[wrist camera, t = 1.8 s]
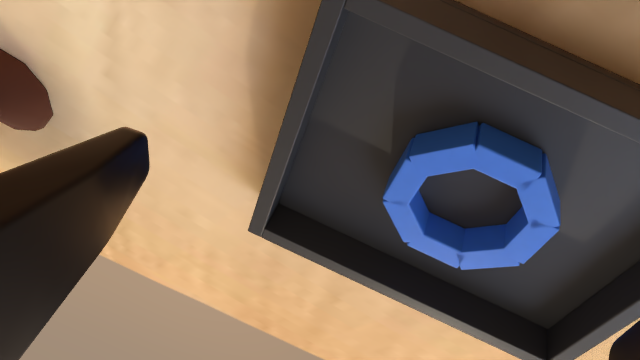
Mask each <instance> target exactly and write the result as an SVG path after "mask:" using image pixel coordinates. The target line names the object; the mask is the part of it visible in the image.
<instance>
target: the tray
mask: <svg viewBox="0 0 640 360" xmlns="http://www.w3.org/2000/svg"><path fill="white" fill-rule="evenodd" d="M472 122H478V124H479V126H480V125H481V124H482V123H485V124H487V125H489V126H492V127H494V128H496V129H498V130H500V131H503V132H505V133H507V134H509V135H511V136H513V137H516V138H518V139H520V140H522V141H524V142H527V143H529V144H531V145H533V146H535V147H537V148H540V149H541V150H542V154H543V153H545V154H546V155H547V158H548V161H549V165H550V168H551V171H552V175H553V178H554V182H555V185H556V188H557V192H558V195H559V198H560V220H561V225H560V226H559V231H558V232H557V233H556V234H555V235H554V236H553V237H552V238H550V239H549V240H548V241H547V242H546V243H545V244H544V245H543V246H542V247H541V248H540V249H539V250H538V251H537V252H536V253H535V254H534V255H533V256H532V257H530V258H529V259H528V260H527V261H526V262H525V263H524V264H522V263H520V265H519V266H509V267H495V268H481V269H467V270H461V268H460V266H459V267H458V268H455V267H452V266H450V265H448V264H446V263H444V262H442V261H440V260H437V259H435V258H433V257H431V256H429V255H427V254H425V253H422V252H420V251H418V250H416V249H414V248H412V247H410V246H408V245H407V242H403V240H402V238H401V237H400V235H399V233H398V231H397V229H396V227H395V225H394V223H393V221H392V219H391V217H390V215H389V214H388V212H387V210H386V208H385V206H384V204H383V194H384V191H385V188H386V185H387V182H388V180H389V177H390V175H391V173H392V171H393V170H394V168H395V166H396V165H397V163H398V161H399V159H400V158H401V156H402V154H403V152H404V151H405V149H406V147H407V146H408V144H409V142H410V140H411V139H412V138H415V136H416V135H417V134H421V133H426V132H430V131H435V130H440V129H444V128H449V127H454V126H458V125H463V124H467V123H472ZM419 192H420V194H421V196H422V198H423V200H424V202H425V204H426V206H427V209H428V211H429V212H430V213H432V214H434V215H437V216H439V217H441V218H443V219H445V220H447V221H450V222H452V223H454V224H456V225H458V226H460V227H462V228H465V229H466V228H475V227H484V226H493V225H502V224H507V223H508V221H509V220H510V219H511V218H512V217H513V216H514V215H515V214H516V213H517V212H518V211H519V209H520V208H521V207H522V203H521V201H520V198H519V195H518V192H517V189H516V188H514V187H512V186H510V185H508V184H505V183H503V182H501V181H499V180H497V179H495V178H492V177H490V176H488V175H486V174H484V173H482V172H479V171H477V170H475V169H469V170H463V171H457V172H451V173H445V174H439V175H433V176H428V177H427V178H426V179H425V181H424V182H423V184H422V185H421V187H420V188H419ZM248 231H249V232H251V233H253V234H256V235H258V236H260V237H261V236H262V238H264V239H266V240H268V241H270V242H272V243H274V244H277V245H279V246H281V247H283V248H285V249H287V250H289V251H291V252H294V253H296V254H298V255H300V256H302V257H304V258H306V259H309V260H311V261H313V262H315V263H317V264H319V265H321V266H323V267H326V268H328V269H330V270H332V271H334V272H336V273H338V274H340V275H343V276H345V277H347V278H349V279H351V280H353V281H355V282H358V283H360V284H362V285H364V286H366V287H368V288H370V289H372V290H375V291H377V292H379V293H381V294H383V295H385V296H387V297H389V298H392V299H394V300H396V301H398V302H400V303H402V304H404V305H407V306H409V307H411V308H413V309H415V310H417V311H419V312H421V313H424V314H426V315H428V316H430V317H432V318H434V319H436V320H439V321H441V322H443V323H445V324H447V325H449V326H451V327H453V328H456V329H458V330H460V331H462V332H464V333H466V334H468V335H470V336H473V337H475V338H477V339H479V340H481V341H483V342H485V343H488V344H490V345H492V346H494V347H496V348H498V349H500V350H502V351H505V352H507V353H509V354H511V355H513V356H515V357H517V358H519V359H522V360H574V359H576V358H577V357H579V356H580V355H582V354H584V353H585V352H587V351H588V350H590V349H591V348H593V347H595V346H596V345H598V344H599V343H601V342H602V341H604V340H605V339H607V338H609V337H610V336H612V335H613V334H615V333H616V332H618V331H620V330H621V329H623V328H624V327H626V326H627V325H629V324H630V323H632V322H634V321H635V320H637V319H638V318H640V85H639V84H637V83H634V82H632V81H630V80H628V79H626V78H623V77H621V76H619V75H617V74H615V73H612V72H610V71H608V70H606V69H604V68H601V67H599V66H597V65H595V64H593V63H590V62H588V61H586V60H584V59H582V58H579V57H577V56H575V55H573V54H571V53H568V52H566V51H564V50H562V49H560V48H557V47H555V46H553V45H551V44H549V43H546V42H544V41H542V40H540V39H538V38H535V37H533V36H531V35H529V34H527V33H524V32H522V31H520V30H518V29H516V28H513V27H511V26H509V25H507V24H505V23H502V22H500V21H498V20H496V19H493V18H491V17H489V16H487V15H485V14H482V13H480V12H478V11H476V10H474V9H471V8H469V7H467V6H465V5H463V4H460V3H458V2H456V1H454V0H322V1H321V4H320V7H319V10H318V13H317V16H316V20H315V23H314V26H313V29H312V32H311V35H310V38H309V41H308V45H307V48H306V51H305V54H304V57H303V60H302V63H301V66H300V69H299V73H298V76H297V79H296V82H295V85H294V88H293V91H292V94H291V98H290V101H289V104H288V107H287V110H286V113H285V116H284V119H283V123H282V126H281V129H280V132H279V135H278V138H277V141H276V144H275V147H274V151H273V154H272V157H271V160H270V163H269V166H268V169H267V172H266V176H265V179H264V182H263V185H262V188H261V191H260V194H259V197H258V201H257V204H256V207H255V210H254V213H253V216H252V219H251V222H250V225H249V229H248Z"/></svg>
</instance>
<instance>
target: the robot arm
mask: <svg viewBox="0 0 640 360" xmlns="http://www.w3.org/2000/svg"><path fill="white" fill-rule="evenodd" d="M148 172H149V152H148V140H147V137H146V135H145V134H144V133H142V132H139V131H137V130H134V129H131V128H128V127H121V128H118V129H116V130H113V131H110V132H108V133H105V134H102V135H100V136H97V137H95V138H92V139H89V140H87V141H84V142H81V143H79V144H76V145H74V146H71V147H68V148H66V149H63V150H60V151H58V152H55V153H52V154H50V155H47V156H45V157H42V158H39V159H37V160H34V161H31V162H29V163H26V164H24V165H21V166H18V167H16V168H13V169H10V170H8V171H5V172H3V173H0V360H19V359H20V358H21V356H22V355H23V354H24V352H25V351H26V350H27V348H28V347H29V346H30V344H31V343H32V342H33V341H34V339H35V338H36V337H37V335H38V334H39V333H40V331H41V330H42V329H43V327H44V326H45V325H46V323H47V322H48V321H49V319H50V318H51V317H52V315H53V314H54V313H55V311H56V310H57V309H58V307H59V306H60V305H61V304H62V302H63V301H64V300H65V298H66V297H67V295H68V294H69V293H70V292H71V290H72V289H73V288H74V286H75V285H76V284H77V282H78V281H79V280H80V278H81V277H82V276H83V275H84V273H85V272H86V271H87V269H88V268H89V267H90V266H91V264H92V263H93V262H94V260H95V259H96V257H97V256H98V255H99V254H100V252H101V251H102V249H103V248H104V247H105V245H106V244H107V242H108V241H109V239H110V238H111V236H112V235H113V233H114V231H115V230H116V228H117V226H118V225H119V223H120V221H121V219H122V218H123V216H124V214H125V213H126V211H127V209H128V208H129V206H130V204H131V203H132V201H133V199H134V197H135V196H136V194H137V192H138V191H139V189H140V187H141V186H142V184H143V182H144V181H145V179H146V177H147V175H148ZM609 360H640V321H638V322H637V323H636V324H634V325H633V326H632V327H631V328H630V329H629V330H627V331H626V332H625V333H624V334H623V335H621V336H620V337H619V338H618V339H617V340H616V341H615V342H614V343H613V345H612V347H611V350H610V354H609Z"/></svg>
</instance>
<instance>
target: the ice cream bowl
mask: <svg viewBox="0 0 640 360" xmlns="http://www.w3.org/2000/svg"><path fill="white" fill-rule="evenodd" d="M52 116H53V112H52V109H51V105H50V101H49V97H48V94H47V90H46V89H45V88H44V87H43V86H42V84H41V83H40V82H39V81H38V79H37V78H36V77H35V76H34V75H33V73H32V72H31V71H30V70H29V69H28V67H27V66H26V65H25V64H24V63H22V62H21V61H19V60H17V59H16V58H14V57H12V56H11V55H9V54H7V53H6V52H4V51H2V50H1V49H0V122H2V123H4V124H6V125H8V126H9V127H11V128H13V129H17V130H31V131H36V130H39V129H42V128H44V126H45V125H46V124H47V122H48V121H49V120H50V118H51V117H52Z"/></svg>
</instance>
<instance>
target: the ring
mask: <svg viewBox="0 0 640 360" xmlns="http://www.w3.org/2000/svg"><path fill="white" fill-rule="evenodd" d="M469 169H475V170H477V171H479V172H482V173H484V174H486V175H488V176H490V177H492V178H495V179H497V180H499V181H501V182H503V183H505V184H508V185H510V186H512V187H514V188H516V189H517V192H518V195H519V198H520V201H521V203H522V207H521V208H520V209H519V211H518V212H517V213H516V214H515V215H514V216H513V217H512V218H511V219H510V220H509V221H508V223H507V224H502V225H493V226H484V227H475V228H466V229H465V228H462V227H460V226H458V225H456V224H454V223H452V222H450V221H447V220H445V219H443V218H441V217H439V216H437V215H434V214H432V213H430V212H429V211H428V209H427V206H426V204H425V202H424V200H423V198H422V196H421V194H420V192H419V188H420V187H421V185H422V184H423V182H424V181H425V179H426V178H427V177H428V176H433V175H439V174H445V173H451V172H457V171H463V170H469ZM383 204H384V206H385V208H386V210H387V212H388V214H389V215H390V217H391V219H392V221H393V223H394V225H395V227H396V229H397V231H398V233H399V235H400V237H401V238H402V240H403V242H407V245H408V246H410V247H412V248H414V249H416V250H418V251H420V252H422V253H425V254H427V255H429V256H431V257H433V258H435V259H437V260H440V261H442V262H444V263H446V264H448V265H450V266H452V267H455V268H458V267H459V266H460V268H461V270H467V269H481V268H495V267H509V266H519V265H520V263H522V264H524V263H525V262H526V261H527V260H528V259H529V258H530V257H532V256H533V255H534V254H535V253H536V252H537V251H538V250H539V249H540V248H541V247H542V246H543V245H544V244H545V243H546V242H547V241H548V240H549V239H550V238H552V237H553V236H554V235H555V234H556V233H557V232H558V231H559V226H560V225H561V220H560V198H559V195H558V192H557V188H556V185H555V182H554V178H553V175H552V171H551V168H550V165H549V161H548V158H547V155H546V154H545V153H543V154H542V150H541V149H540V148H537V147H535V146H533V145H531V144H529V143H527V142H524V141H522V140H520V139H518V138H516V137H513V136H511V135H509V134H507V133H505V132H503V131H500V130H498V129H496V128H494V127H492V126H489V125H487V124H485V123H482V124H481V125H480V126H479V124H478V122H472V123H467V124H463V125H458V126H454V127H449V128H444V129H440V130H435V131H430V132H426V133H421V134H417V135H416V136H415V138H412V139H411V140H410V142H409V144H408V146H407V147H406V149H405V151H404V152H403V154H402V156H401V158H400V159H399V161H398V163H397V165H396V166H395V168H394V170H393V171H392V173H391V175H390V177H389V180H388V182H387V185H386V188H385V191H384V194H383Z"/></svg>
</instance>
